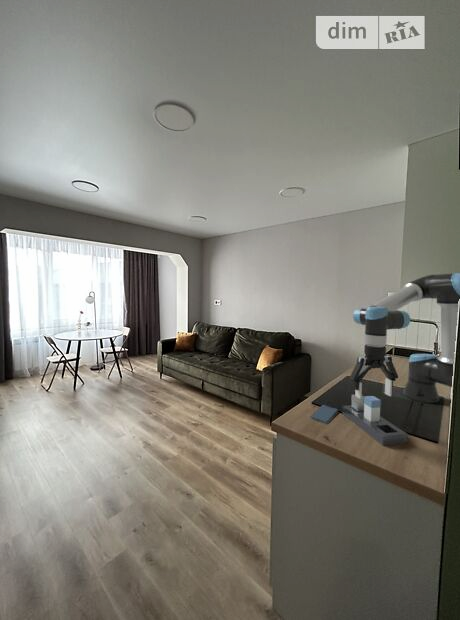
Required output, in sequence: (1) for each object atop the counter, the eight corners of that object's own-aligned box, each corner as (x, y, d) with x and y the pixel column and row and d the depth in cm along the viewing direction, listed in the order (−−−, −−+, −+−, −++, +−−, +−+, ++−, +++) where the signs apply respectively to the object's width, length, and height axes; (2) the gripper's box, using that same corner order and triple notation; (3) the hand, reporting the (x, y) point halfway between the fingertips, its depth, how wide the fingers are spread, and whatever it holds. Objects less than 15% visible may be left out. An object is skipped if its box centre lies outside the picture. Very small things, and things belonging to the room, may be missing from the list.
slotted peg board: (362, 411, 114) (363, 392, 114) (406, 442, 91) (408, 418, 90) (342, 413, 113) (343, 393, 112) (382, 445, 89) (383, 420, 89)
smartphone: (309, 416, 108) (322, 404, 119) (309, 420, 108) (322, 407, 119) (326, 422, 103) (338, 409, 114) (326, 426, 103) (338, 412, 114)
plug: (372, 423, 104) (373, 395, 103) (379, 428, 100) (380, 400, 99) (363, 424, 104) (364, 396, 103) (370, 429, 100) (371, 400, 99)
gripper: (394, 341, 105) (392, 390, 107) (341, 344, 101) (339, 394, 103) (410, 345, 98) (407, 397, 99) (353, 348, 94) (351, 402, 96)
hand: (373, 396), depth 101 cm, fingers open, 13 cm apart
